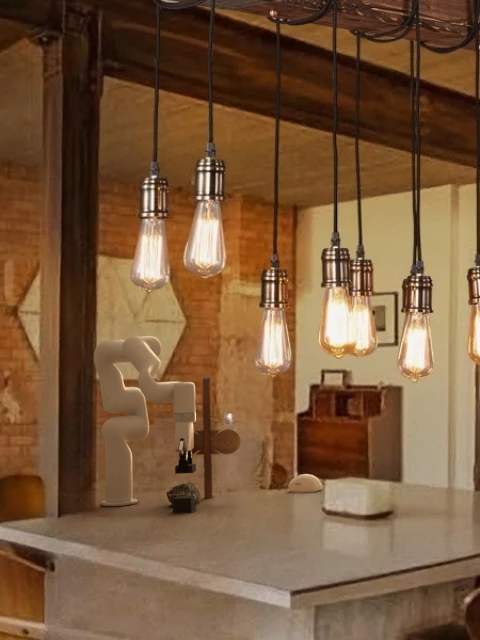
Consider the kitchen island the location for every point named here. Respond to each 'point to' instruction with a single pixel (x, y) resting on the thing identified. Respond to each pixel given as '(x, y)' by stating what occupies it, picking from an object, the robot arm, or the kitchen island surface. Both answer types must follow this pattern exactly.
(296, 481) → the computer mouse
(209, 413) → the brown flat cross piece
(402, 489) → the kitchen island surface
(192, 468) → the pad
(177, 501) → the pad
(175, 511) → the pad base
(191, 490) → the rock
